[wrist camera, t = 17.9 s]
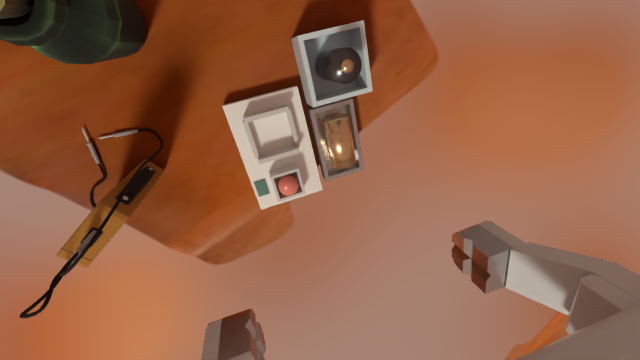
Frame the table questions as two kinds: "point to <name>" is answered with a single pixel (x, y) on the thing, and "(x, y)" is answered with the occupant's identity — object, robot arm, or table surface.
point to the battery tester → (274, 144)
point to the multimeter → (104, 216)
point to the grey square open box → (328, 39)
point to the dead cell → (338, 65)
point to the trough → (320, 140)
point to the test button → (288, 184)
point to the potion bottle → (74, 28)
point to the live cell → (339, 141)
